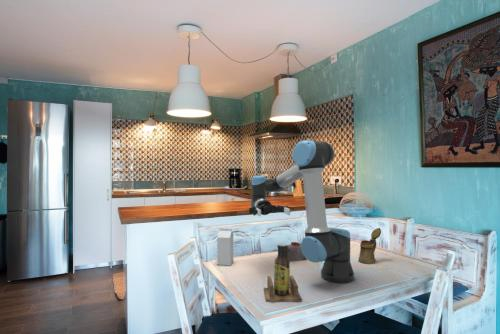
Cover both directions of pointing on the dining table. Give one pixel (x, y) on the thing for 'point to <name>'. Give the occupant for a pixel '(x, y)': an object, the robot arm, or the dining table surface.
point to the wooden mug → (369, 248)
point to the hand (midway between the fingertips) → (274, 212)
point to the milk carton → (225, 247)
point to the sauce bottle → (281, 271)
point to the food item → (294, 252)
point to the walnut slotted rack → (274, 297)
